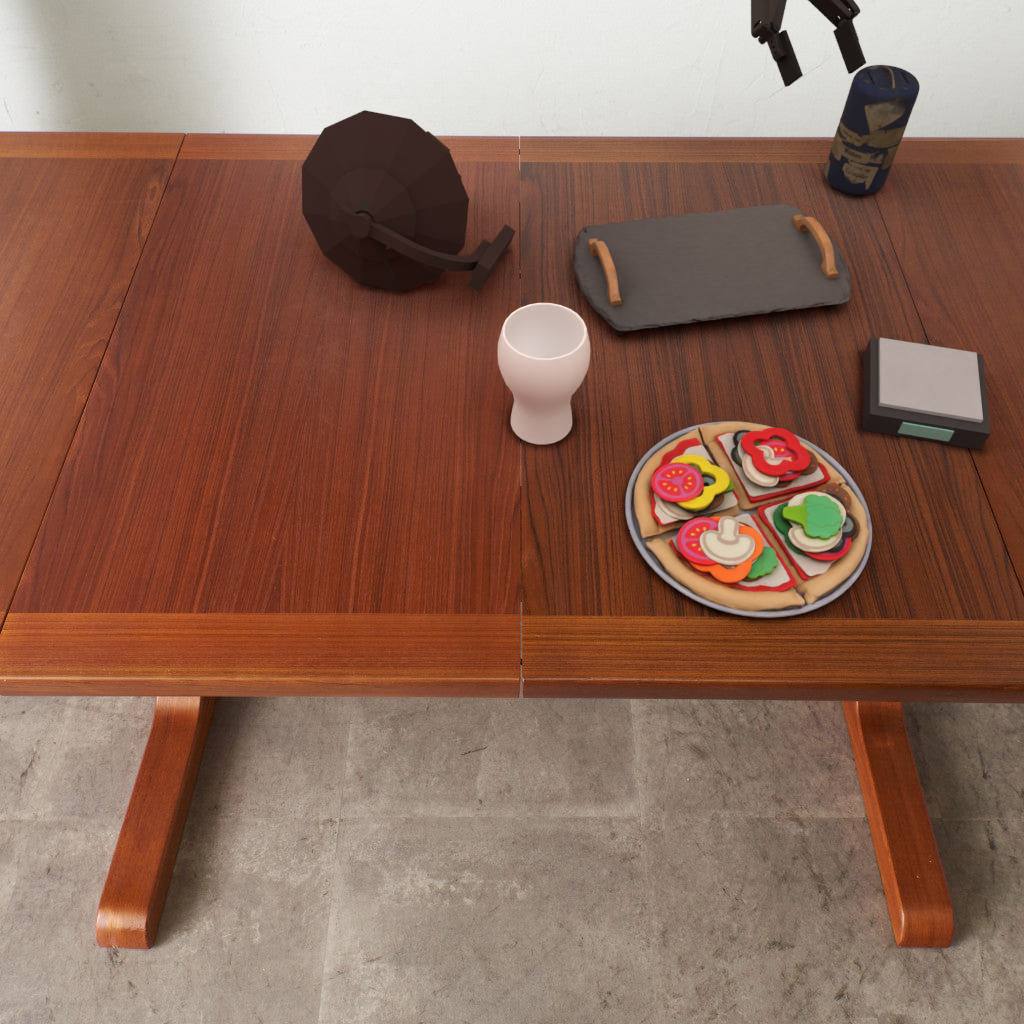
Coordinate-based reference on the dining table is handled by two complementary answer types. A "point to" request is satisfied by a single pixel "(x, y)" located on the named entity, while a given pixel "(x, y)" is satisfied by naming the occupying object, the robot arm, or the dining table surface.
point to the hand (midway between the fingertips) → (826, 75)
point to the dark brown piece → (391, 205)
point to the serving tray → (708, 267)
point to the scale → (925, 393)
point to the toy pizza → (748, 519)
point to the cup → (543, 368)
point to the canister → (871, 128)
